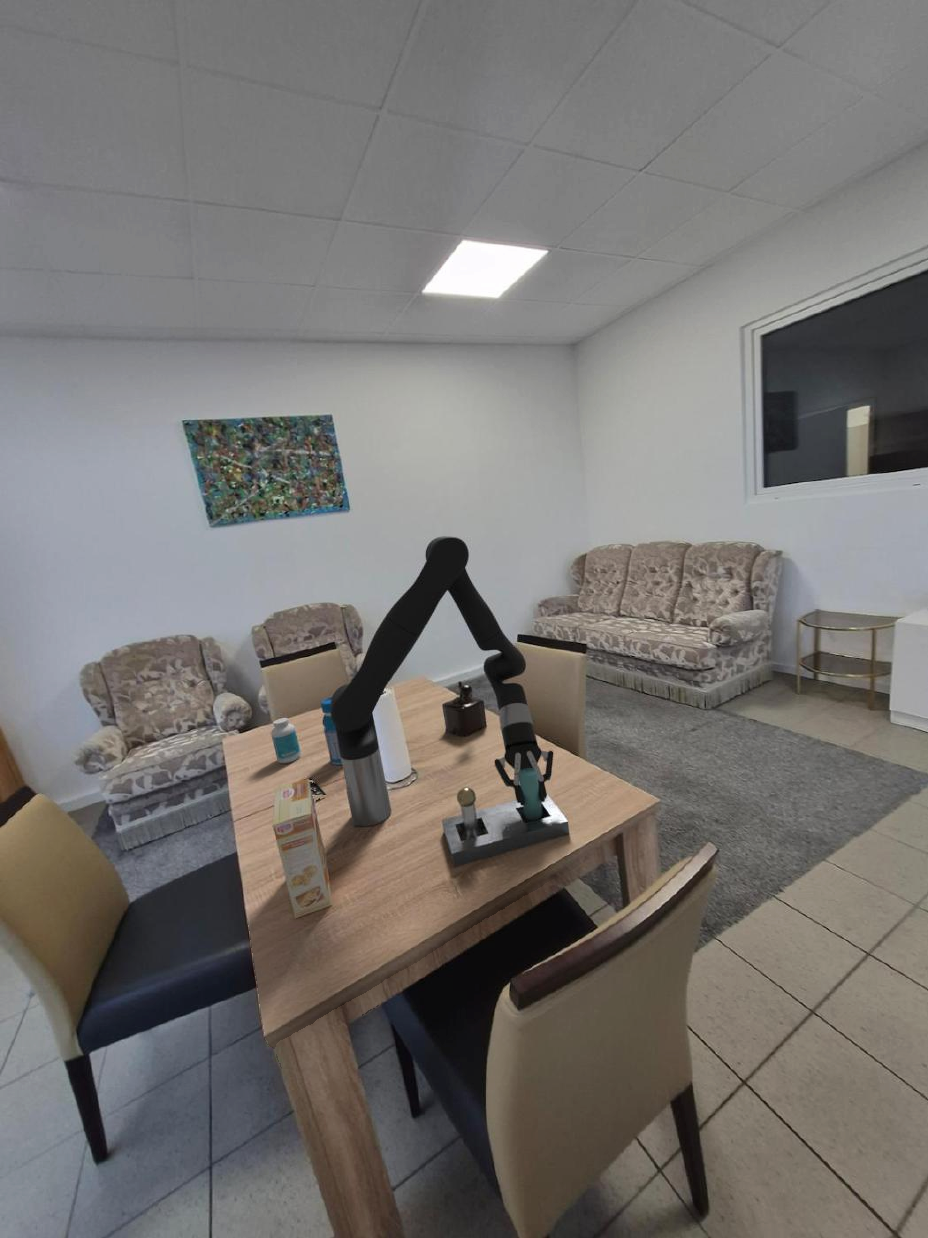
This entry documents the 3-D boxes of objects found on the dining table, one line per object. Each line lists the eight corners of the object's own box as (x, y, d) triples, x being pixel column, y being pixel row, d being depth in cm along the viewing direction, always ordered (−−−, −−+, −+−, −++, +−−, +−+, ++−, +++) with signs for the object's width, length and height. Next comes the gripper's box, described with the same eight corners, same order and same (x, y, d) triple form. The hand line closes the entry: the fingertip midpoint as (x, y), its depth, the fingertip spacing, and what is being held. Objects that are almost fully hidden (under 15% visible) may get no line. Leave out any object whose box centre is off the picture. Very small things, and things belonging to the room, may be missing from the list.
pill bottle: (306, 755, 158) (297, 717, 156) (287, 765, 152) (278, 726, 150) (291, 752, 162) (283, 714, 160) (273, 762, 156) (263, 724, 154)
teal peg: (527, 821, 102) (522, 779, 100) (521, 811, 106) (516, 770, 104) (545, 816, 103) (539, 774, 101) (538, 807, 107) (533, 766, 105)
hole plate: (454, 866, 95) (444, 811, 93) (443, 831, 107) (435, 781, 105) (569, 834, 100) (563, 780, 98) (547, 803, 112) (541, 754, 109)
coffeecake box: (333, 906, 90) (311, 813, 86) (293, 920, 88) (270, 826, 84) (328, 858, 104) (309, 777, 100) (294, 870, 102) (274, 787, 98)
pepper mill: (443, 730, 161) (435, 680, 158) (468, 719, 168) (461, 670, 164) (472, 742, 149) (464, 688, 146) (498, 729, 156) (490, 677, 152)
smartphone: (311, 777, 142) (327, 796, 129) (311, 779, 142) (328, 798, 129) (285, 787, 138) (300, 807, 125) (286, 789, 138) (301, 810, 125)
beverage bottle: (337, 768, 145) (324, 707, 141) (325, 761, 151) (313, 702, 148) (362, 757, 150) (350, 697, 147) (349, 750, 157) (337, 693, 153)
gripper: (486, 725, 108) (499, 804, 98) (548, 716, 108) (567, 793, 99) (487, 737, 114) (500, 812, 105) (545, 728, 115) (563, 802, 105)
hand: (532, 802), depth 102 cm, fingers closed on teal peg, 4 cm apart
